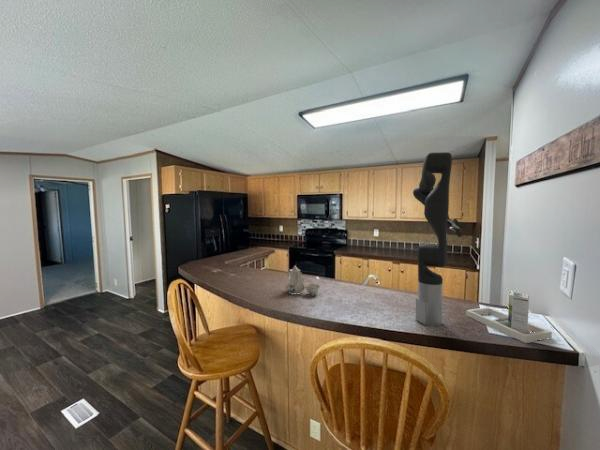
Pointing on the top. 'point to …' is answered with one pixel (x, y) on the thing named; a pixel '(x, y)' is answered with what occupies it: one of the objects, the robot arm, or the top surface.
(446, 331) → the top surface
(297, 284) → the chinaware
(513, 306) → the syrup box
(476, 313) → the two-slot holder
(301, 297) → the top surface
